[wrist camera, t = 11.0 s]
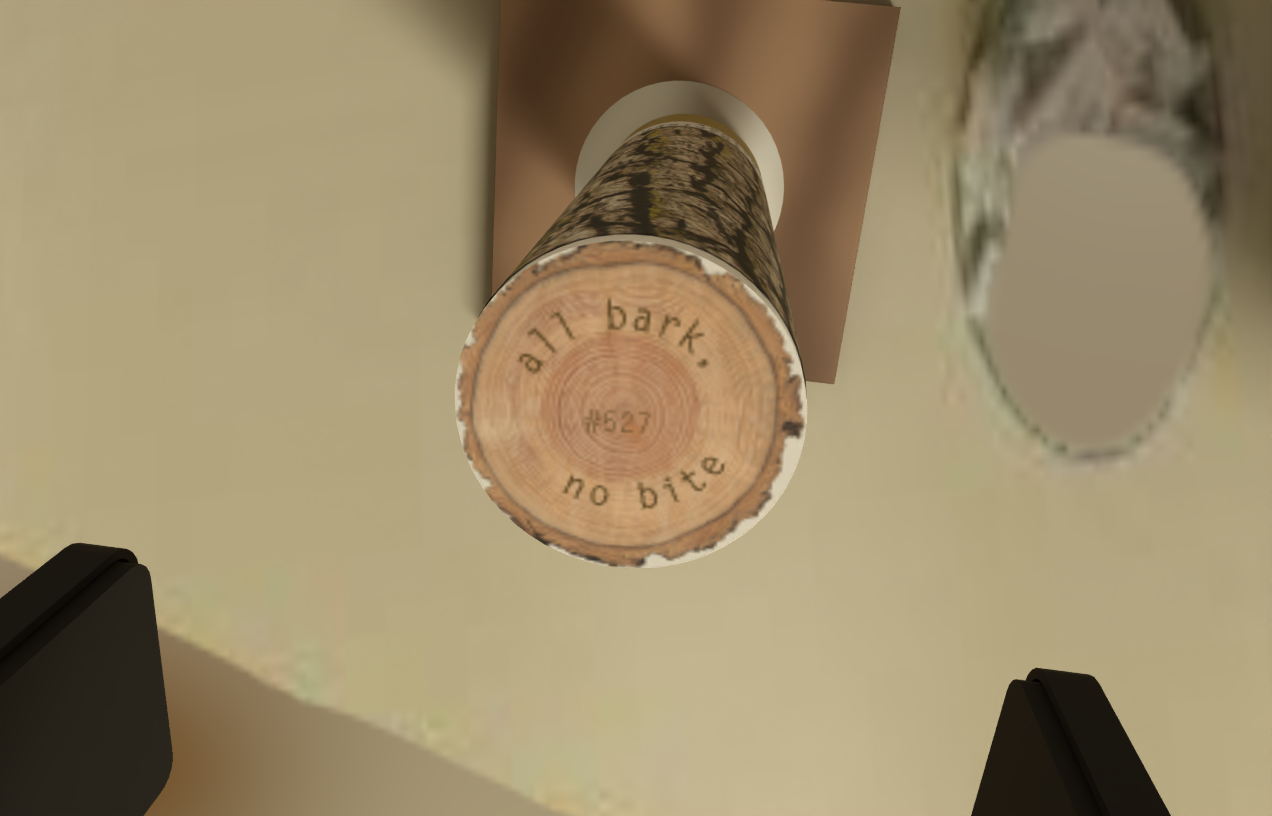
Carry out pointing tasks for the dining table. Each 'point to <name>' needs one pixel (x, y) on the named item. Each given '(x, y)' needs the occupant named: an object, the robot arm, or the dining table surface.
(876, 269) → the dining table surface
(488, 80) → the dining table surface
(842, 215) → the board
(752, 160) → the bark print can
